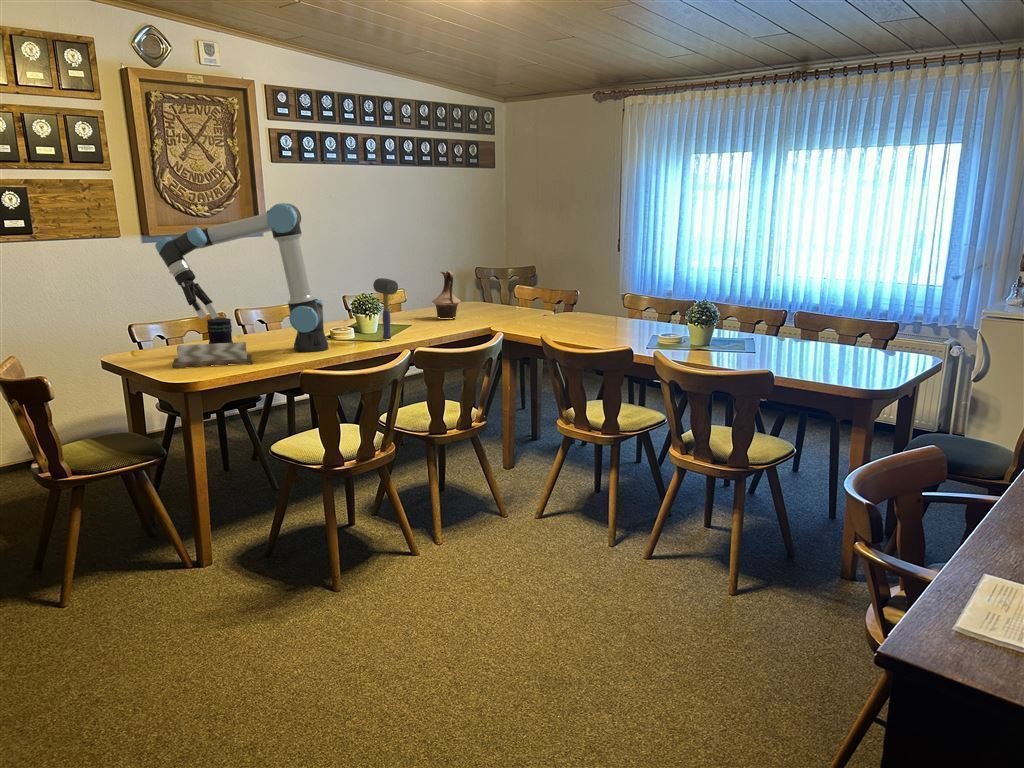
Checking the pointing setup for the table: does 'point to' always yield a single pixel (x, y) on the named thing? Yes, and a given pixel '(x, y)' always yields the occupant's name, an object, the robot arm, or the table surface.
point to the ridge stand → (211, 355)
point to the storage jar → (219, 330)
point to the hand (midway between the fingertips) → (210, 317)
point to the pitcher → (446, 298)
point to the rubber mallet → (386, 301)
